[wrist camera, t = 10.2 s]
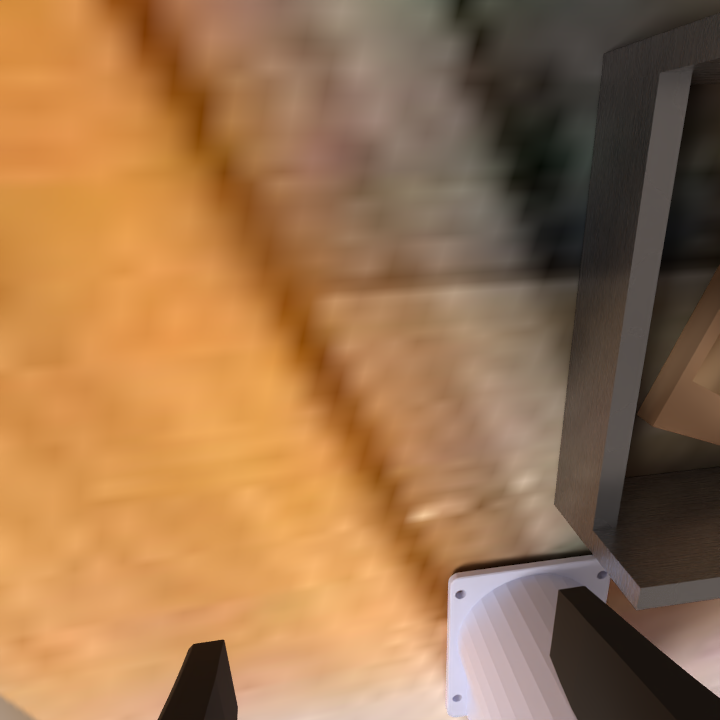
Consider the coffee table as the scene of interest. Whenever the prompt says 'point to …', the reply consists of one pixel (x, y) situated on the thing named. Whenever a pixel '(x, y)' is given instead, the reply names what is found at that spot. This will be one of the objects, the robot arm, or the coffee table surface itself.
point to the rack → (635, 332)
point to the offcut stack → (691, 376)
